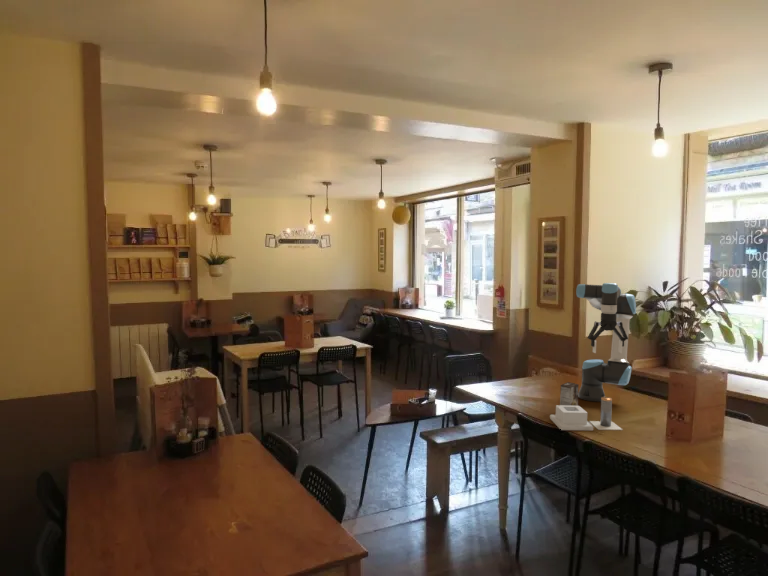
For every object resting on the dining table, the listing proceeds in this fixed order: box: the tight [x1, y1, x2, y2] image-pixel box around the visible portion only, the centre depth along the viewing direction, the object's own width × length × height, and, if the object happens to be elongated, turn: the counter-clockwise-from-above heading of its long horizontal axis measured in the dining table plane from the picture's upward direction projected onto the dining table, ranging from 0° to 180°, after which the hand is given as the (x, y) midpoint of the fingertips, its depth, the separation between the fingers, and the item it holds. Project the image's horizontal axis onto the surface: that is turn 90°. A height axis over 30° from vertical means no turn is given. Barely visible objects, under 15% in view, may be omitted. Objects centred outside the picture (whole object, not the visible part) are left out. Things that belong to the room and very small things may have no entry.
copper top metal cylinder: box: [600, 396, 613, 427], centre depth 267 cm, size 5×5×14 cm
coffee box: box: [559, 381, 579, 406], centre depth 287 cm, size 9×6×16 cm
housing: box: [549, 404, 594, 431], centre depth 270 cm, size 18×16×8 cm
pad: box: [588, 420, 623, 431], centre depth 268 cm, size 12×12×1 cm
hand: (607, 352), depth 276 cm, fingers open, 13 cm apart
